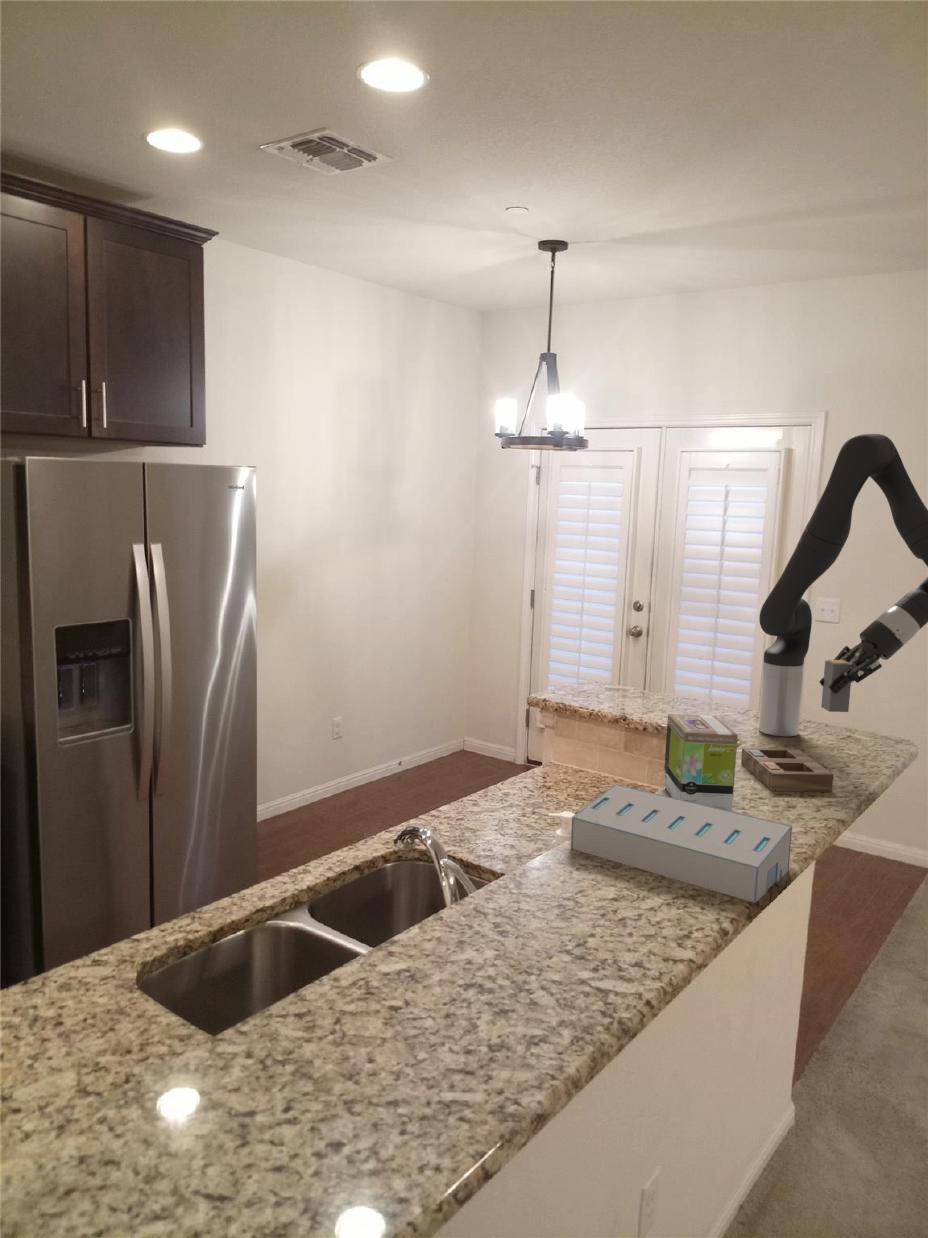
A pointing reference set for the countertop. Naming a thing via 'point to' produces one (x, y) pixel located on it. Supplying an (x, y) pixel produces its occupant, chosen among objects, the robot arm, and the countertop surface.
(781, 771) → the dock
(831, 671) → the grey rectangular block
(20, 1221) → the countertop surface
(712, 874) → the multi-port usb hub
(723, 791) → the tea box
